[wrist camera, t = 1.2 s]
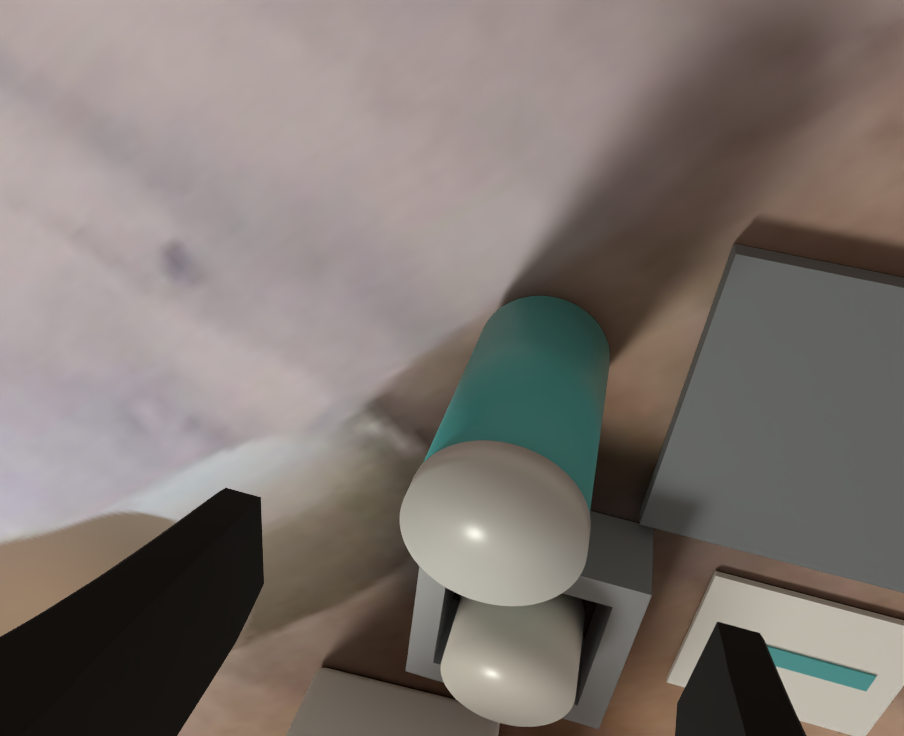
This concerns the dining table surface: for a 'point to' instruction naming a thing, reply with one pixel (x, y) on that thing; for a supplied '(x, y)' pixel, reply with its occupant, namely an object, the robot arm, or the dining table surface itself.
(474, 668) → the button
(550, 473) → the marker
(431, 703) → the medicine bottle
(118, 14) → the dining table surface
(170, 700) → the robot arm
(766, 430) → the board
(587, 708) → the button box
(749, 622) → the card
